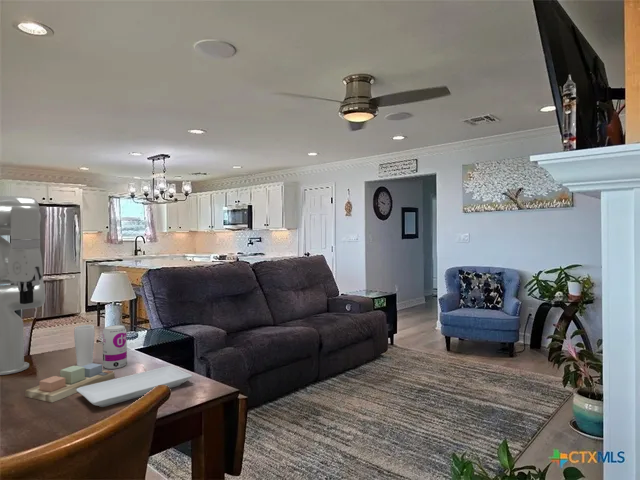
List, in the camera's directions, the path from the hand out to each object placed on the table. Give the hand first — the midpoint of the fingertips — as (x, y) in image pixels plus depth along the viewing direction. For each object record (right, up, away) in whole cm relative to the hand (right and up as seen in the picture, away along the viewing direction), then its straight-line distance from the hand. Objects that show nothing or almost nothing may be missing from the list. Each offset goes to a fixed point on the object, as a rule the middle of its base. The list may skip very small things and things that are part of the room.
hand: (26, 303), depth 133 cm
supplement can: (+14, -29, +29) cm, 43 cm away
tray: (+33, -30, +4) cm, 45 cm away
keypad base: (+10, -29, +8) cm, 32 cm away
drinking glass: (+2, -29, +29) cm, 41 cm away
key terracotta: (+8, -28, +1) cm, 29 cm away
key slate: (+13, -28, +14) cm, 34 cm away
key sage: (+10, -27, +8) cm, 30 cm away
